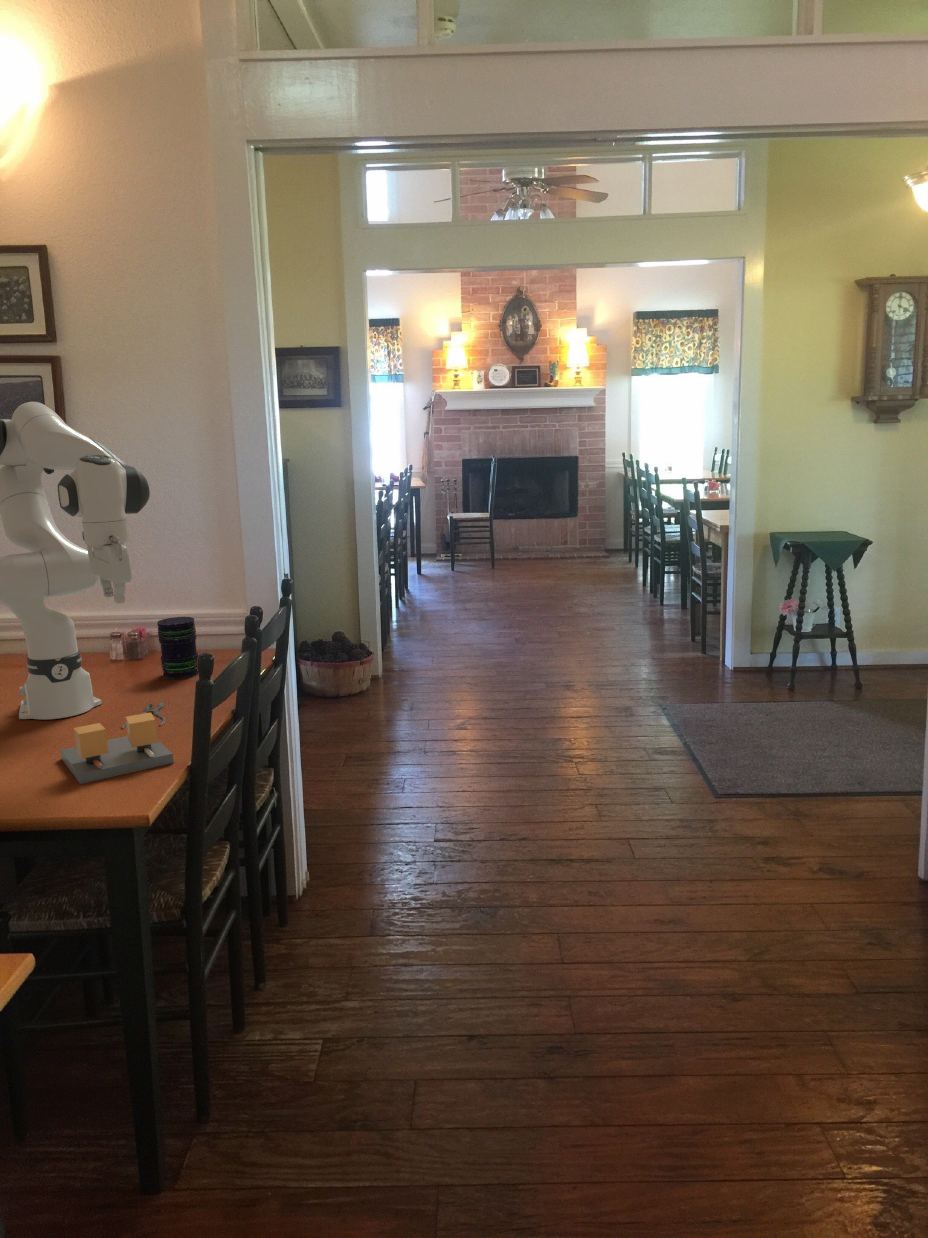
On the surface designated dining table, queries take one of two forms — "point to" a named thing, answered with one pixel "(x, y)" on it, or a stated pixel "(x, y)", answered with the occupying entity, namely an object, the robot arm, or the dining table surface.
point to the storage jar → (178, 647)
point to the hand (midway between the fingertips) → (114, 599)
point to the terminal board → (109, 755)
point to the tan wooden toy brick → (141, 729)
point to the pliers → (155, 711)
